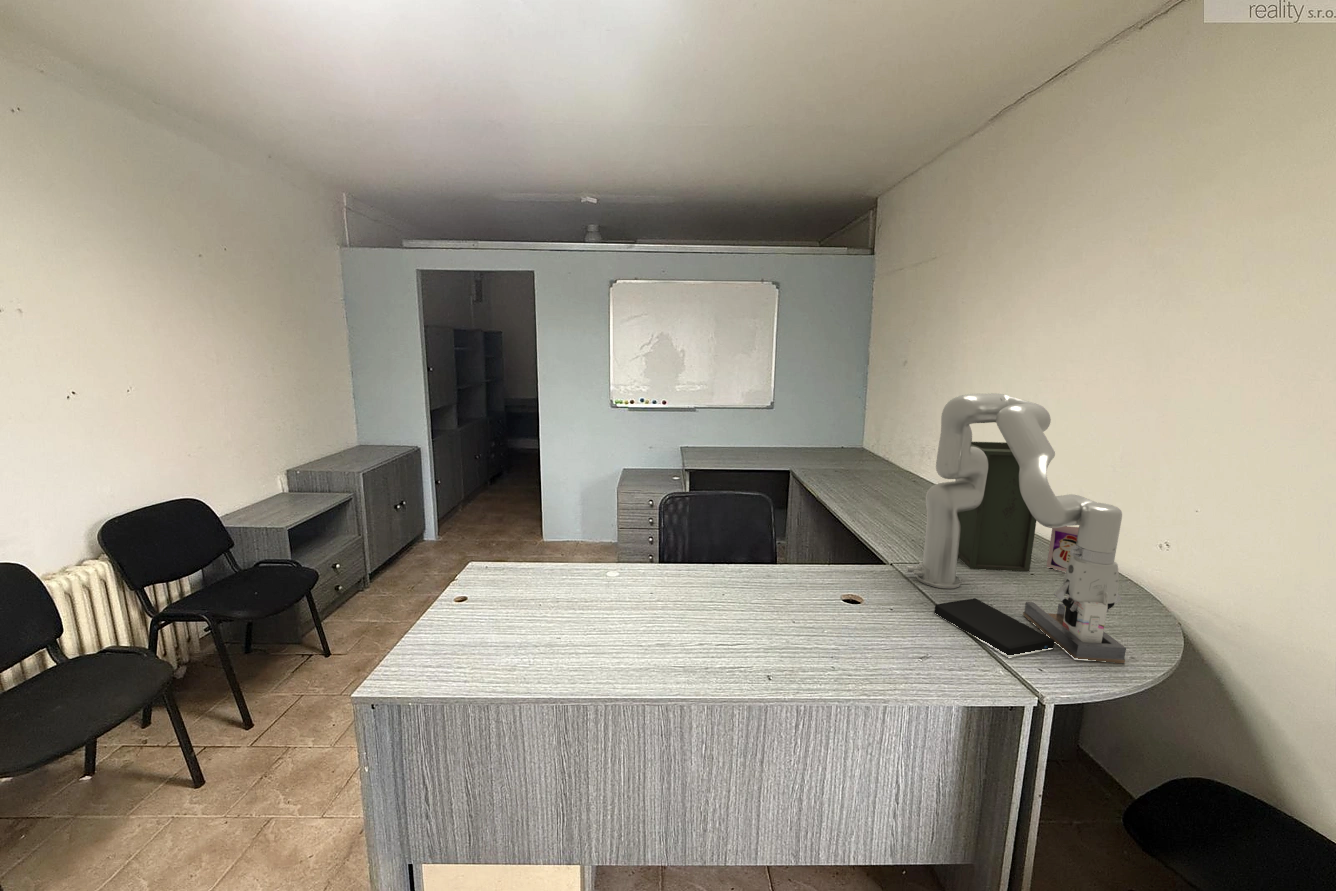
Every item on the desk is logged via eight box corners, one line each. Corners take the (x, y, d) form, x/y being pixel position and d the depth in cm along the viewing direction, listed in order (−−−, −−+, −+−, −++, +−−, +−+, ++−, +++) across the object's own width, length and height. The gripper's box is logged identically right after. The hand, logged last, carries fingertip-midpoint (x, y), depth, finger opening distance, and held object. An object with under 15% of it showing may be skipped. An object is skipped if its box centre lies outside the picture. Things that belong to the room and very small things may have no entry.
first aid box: (947, 548, 198) (959, 441, 191) (1000, 551, 197) (1015, 442, 189) (970, 569, 180) (984, 451, 173) (1029, 571, 178) (1046, 452, 171)
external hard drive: (974, 607, 154) (975, 598, 153) (1053, 651, 132) (1055, 639, 132) (934, 614, 150) (935, 604, 149) (1008, 660, 128) (1010, 648, 127)
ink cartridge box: (1060, 630, 138) (1068, 576, 136) (1081, 633, 137) (1090, 578, 135) (1077, 649, 130) (1087, 591, 127) (1101, 651, 129) (1111, 593, 126)
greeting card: (1045, 568, 182) (1051, 525, 179) (1053, 563, 186) (1059, 521, 183) (1086, 579, 173) (1094, 535, 170) (1093, 574, 177) (1101, 530, 175)
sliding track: (1074, 660, 127) (1077, 645, 127) (1022, 615, 149) (1024, 601, 148) (1124, 663, 126) (1127, 648, 126) (1065, 617, 148) (1067, 604, 147)
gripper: (1066, 559, 127) (1055, 630, 130) (1144, 562, 125) (1131, 634, 128) (1047, 547, 134) (1037, 615, 137) (1121, 550, 133) (1109, 619, 136)
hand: (1082, 624), depth 133 cm, fingers closed on ink cartridge box, 5 cm apart
